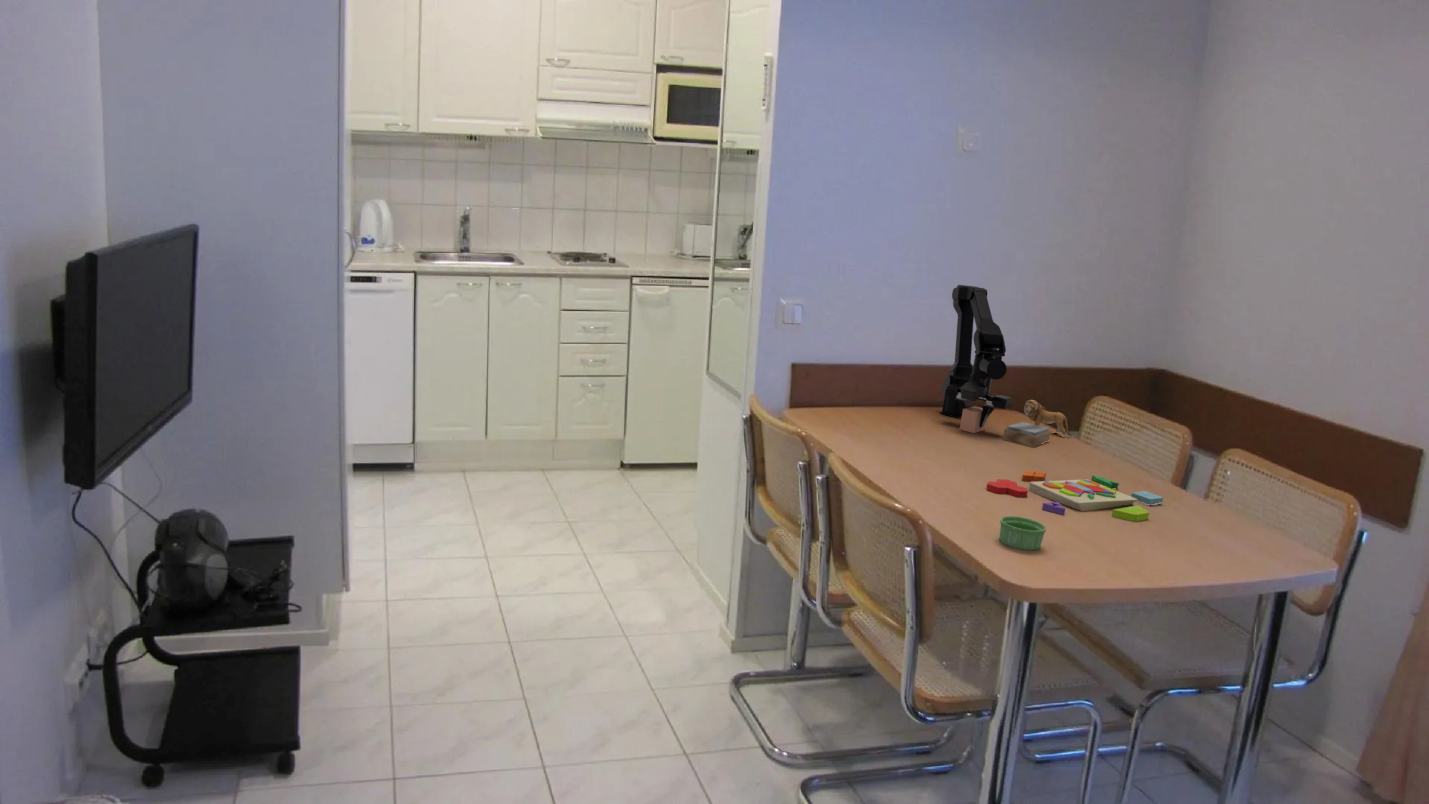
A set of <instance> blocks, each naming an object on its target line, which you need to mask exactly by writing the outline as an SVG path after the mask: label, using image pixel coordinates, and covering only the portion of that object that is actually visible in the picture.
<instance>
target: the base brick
mask: <svg viewBox="0 0 1429 804" xmlns="http://www.w3.org/2000/svg"><path fill="white" fill-rule="evenodd" d="M1049 430H1050V428H1049V427H1045V426H1041V425H1039V426H1038V425H1035V423H1029V422H1026V421H1025V422H1024V421H1020V422H1016V423H1012V424H1010V425H1007V428H1005V429H1004V431H1003V435H1002V436H1003V437H1002V440H1004V441H1007V442H1010V443H1015V444H1017V445H1022V446H1026V447H1029V446H1030V448H1036V447H1038V446H1037V445H1038V444H1041V443H1043V442H1045V441H1048V440H1049V441H1050V436H1051V431H1049ZM1035 446H1036V447H1035Z"/></svg>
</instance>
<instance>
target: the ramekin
mask: <svg viewBox="0 0 1429 804" xmlns="http://www.w3.org/2000/svg"><path fill="white" fill-rule="evenodd" d="M999 520H1000V522H999V523H1000V529H999V531H1000V532H999V541H1000V542H1001V543H1002V544H1004V545H1006V546H1008V547H1011V548H1014V549H1018V550H1023V551H1036V550H1038V549H1040V547H1041V546H1042V542H1043V539H1044V536H1045V533H1046V531H1047V526H1046V525H1045V524H1044V523H1042V522H1040V521H1037V520H1035V519H1032V518H1028V517H1023V516H1014V515H1007V516H1002V517H1001V518H1000V519H999Z"/></svg>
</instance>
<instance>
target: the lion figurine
mask: <svg viewBox="0 0 1429 804" xmlns="http://www.w3.org/2000/svg"><path fill="white" fill-rule="evenodd" d="M1023 411H1024V414H1025V415H1026V416H1027V417H1028V418H1029V420H1030V421H1032V422H1034V425H1038V426H1040V424H1041V423H1043V424H1048V425H1049V424H1051V425H1052V424H1054V423H1055V424H1056V427H1057V429H1056V430H1055V431H1056V432H1059V433H1060V432H1062V434H1064V435H1065V436H1066V435H1067V436H1069V437H1072V434H1071V433H1070V432H1069V430H1068V429H1069V427H1068V420H1067V417H1066V416H1065V415H1064V414H1063V413H1062V412H1059V411H1057V412H1054V411H1048V410H1047V409H1046V408H1045V406H1043V405H1041V403H1039V402H1038V401H1037V400H1034V399H1029V400H1025V404H1024V408H1023ZM1064 424H1065V427H1064Z"/></svg>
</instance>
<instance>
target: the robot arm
mask: <svg viewBox="0 0 1429 804" xmlns="http://www.w3.org/2000/svg"><path fill="white" fill-rule="evenodd" d="M951 298H952V307H953V308H954V309H953V310H955V312H956V314H957V322H956V323H957V324H956V338H955V350H954V351H955V353H954V363H952V365H951V367H950V368H949V369H948V372H947V376H946V377H945V379H944V381H943V383H942V384H941V391H940V392H941V393H942V394H943V395H944V397H943V403H942V410H939V414H941V415H946V416H950V417H953V418H958V419H960V418H962V413H963V409H965V408H969V407H972V402H977V401H978V400H979V401H984V402H985V404H982V408H983V412H982V416H981V420H980V427H982V426H983V425H984V423H985V422H986V423H987V421H986V420H988V419H989V417H990V415H991V414H992V413H993V412H994V410H996V409H997V408H999V409H1003V410H1006V409H1010V408H1012V406H1013V399H1012V397H1011V396H1007V395H1002V394H997V395H994V396H993V395H991V394H992V390H991V385H992V382H993V381H997V380H1000V379H1003V378H1004V377H1005V375H1006V374H1007V370H1008V369H1007V365H1006V363H1005V362H1004V361H1003V360H1002V359H1003V357H1005V356H1006V352H1007V348H1006V344H1005V339H1004V338H1005V337H1004V334H1003V333H1002V332H1003V331H1002V330H1001V327H1000V326H999V325H998V324H997V323H995V322H994V319H993V317H992V316H993V315H992V311H991V308H990V304H989V300H988V289H987V288H984V287H979V286H973V285H964V284H958V285H957V286H956V287H954V288H953V289H952V293H951ZM974 324H975V326H976V330H975V332H974V333H973V331H974ZM973 345H974V349H975V350H974V354H975V355H974V359H973V364H972V363H971V362H972V361H971V360H972V350H973V347H972V346H973Z"/></svg>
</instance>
